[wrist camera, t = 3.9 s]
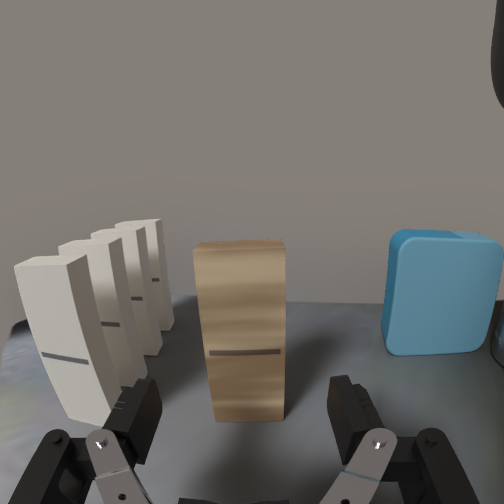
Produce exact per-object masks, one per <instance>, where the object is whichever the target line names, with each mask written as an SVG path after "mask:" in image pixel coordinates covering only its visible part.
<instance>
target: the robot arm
mask: <svg viewBox="0 0 504 504" xmlns="http://www.w3.org/2000/svg"><path fill="white" fill-rule="evenodd" d="M491 73H492V81H493V86H494V90H495V93H496V96H497V98H498V100H499V102H500V104H501V105H502V107H503V108H504V0H497V5H496V15H495V24H494V30H493V37H492V46H491ZM491 351H492V354H493V356H494V358H495V359H496V360H497V361H498V362H499V363H500V364H501V365H502V366H503V367H504V301H503V305H502V309H501V313H500V317H499V320H498V324H497V327H496V330H495V334H494V337H493V341H492V344H491ZM327 411H328V415H329V418H330V422H331V425H332V429H333V432H334V436H335V439H336V443H337V446H338V450H339V453H340V457H341V460H342V464H343V465H347V464H348V465H347V467H346V468H345V470H342V472H341V473H340V474H339V476H338V477H337V479H336V480H335V482H334V483H333V485H332V486H331V488H330V489H329V491H328V492H327V494H326V495H325V496H324V498H323V499H322V501H321V502H320V503H319V504H369V502H370V500H371V499H372V497H373V495H374V493H375V491H376V489H377V487H378V485H379V483H380V482H396V481H398V484H399V487H400V490H401V493H402V496H403V500H404V503H405V504H480V503H479V501H478V499H477V497H476V495H475V492H474V490H473V488H472V486H471V484H470V482H469V480H468V478H467V476H466V473H465V471H464V469H463V467H462V465H461V463H460V461H459V460H458V458H457V456H456V454H455V452H454V450H453V448H452V446H451V444H450V442H449V440H448V439H447V437H446V435H445V434H444V433H443V432H442V431H441V430H439V429H436V428H426V429H424V430H422V431H420V432H419V433H418V435H417V437H398V436H396V435H395V434H394V433H393V432H392V431H390V430H388V429H385V428H384V426H383V424H382V422H381V419H380V417H379V415H378V413H377V411H376V409H375V407H374V406H373V403H372V401H371V399H370V396H369V394H368V392H367V390H366V389H365V388H363V387H362V386H361V385H360V384H354V385H352V383H351V381H350V379H349V377H348V375H341V376H333V377H331V378H330V384H329V391H328V398H327ZM161 415H162V402H161V399H160V395H159V392H158V389H157V385H156V382H155V380H153V379H142V378H138V379H137V381H136V383H135V385H134V387H133V388H130V387H128V388H127V389H126V390H125V391H123V392H122V393H121V394H120V396H119V398H118V400H117V402H116V403H115V405H114V408H113V409H112V411H111V413H110V414H109V416H108V418H107V420H106V422H105V424H104V426H103V427H102V429H98V430H95V431H93V432H91V433H90V434H89V435H88V436H87V438H70V436H69V435H68V433H67V432H66V431H64V430H60V429H55V430H52V431H50V432H48V433H47V434H46V435H45V436H44V438H43V440H42V441H41V443H40V445H39V446H38V448H37V450H36V452H35V453H34V455H33V457H32V459H31V461H30V462H29V464H28V466H27V468H26V470H25V471H24V473H23V475H22V477H21V479H20V481H19V483H18V485H17V487H16V489H15V491H14V493H13V495H12V497H11V499H10V501H9V503H8V504H84V503H85V500H86V497H87V494H88V491H89V489H90V486H91V483H92V480H95V481H96V484H97V486H98V489H99V492H100V494H101V497H102V499H103V501H104V504H153V502H152V501H151V499H150V497H149V496H148V494H147V492H146V490H145V489H144V487H143V485H142V483H141V482H140V480H139V478H138V476H137V474H136V472H135V470H134V467H135V464H136V463H137V464H142V465H144V464H145V461H146V458H147V455H148V452H149V449H150V446H151V443H152V441H153V438H154V435H155V432H156V429H157V426H158V423H159V420H160V418H161ZM178 504H217V503H213V502H209V501H206V500H196V499H186V498H179V501H178ZM253 504H289V500H283V501H265V502H257V503H253Z"/></svg>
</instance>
